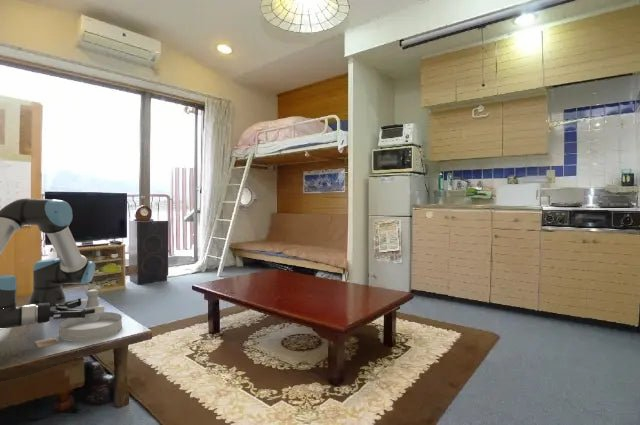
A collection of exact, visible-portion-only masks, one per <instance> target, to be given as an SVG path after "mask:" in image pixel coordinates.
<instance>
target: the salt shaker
mask: <svg viewBox="0 0 640 425" xmlns="http://www.w3.org/2000/svg"><path fill="white" fill-rule="evenodd" d="M98 295H99V290H98V289H93V288H92V289H89V290H87V291H86V297H87V299H88V300H87V304H86V306H85V308H90V307H97V306H100V303H99V304H98V299H97V298H98ZM99 317H100V313H97V314H90V315H85V320H86V322H95V321H97V320H98V319H99Z"/></svg>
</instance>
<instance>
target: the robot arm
mask: <svg viewBox="0 0 640 425" xmlns="http://www.w3.org/2000/svg"><path fill="white" fill-rule="evenodd" d="M73 215H74V214H73V209H72V207H71V205H70V204H69V202H67V201H65V200H61V199H56V198H55V199H54V198H52V199H49V198H46V199H45V198H27V197H26V198H21V199H16V200H14V201H12V202H10V203H8V204H7V205H5V206H4V207H3V208H1V209H0V256H1V255H2V253H3V251H4V250H5V248H6V247H7V245H8V243H9V242H10V240H11V238H12V237H13V235H14V234H15V233H16V232H19V231H20V230H21V228H22V227H23V226H37V228H38V229H39V231H40V232H41V233H44V234H45V235H46V236H47V238H48V239H49V241H50V243H51V245H52V247H53V249H54V251H55V252H56V254H57V256H58V257H57V258H47V259H42V260H38V261H36V262H35V263H34V264H33V269H32V272H33V273H32V274H33V278H32V279H33V280H32V282H33V283H32V284H33V285H32V287H33V288H32V291H31V292H32V293H31V295H30V297H29V300H28V302H27V303H28V304H25V305H18V306H17V293H18V292H17V290H18V286H17V283H18V282H17V278H16V276H15V275H13V274H3V275H2V274H0V328H6V329H10V328H17V327H22V326H23V327H28V326H29V325H36V323H37V324H43V323H49V322H50V321H51V320H50V319H51V317H52V318H53V320H59V319H69V318H85V315H90V314H97V313H104V312H105V305H100V297H97V299H98V304H99V306H97V307H90V308H86V304H87V300H88V298H87V299H82V298H81V297H78V298H76V299H72V300H68V301H66V294H65V292H64V289H63V285H64V284H65V285H66V284H67V285H68V284H69V285H70V284H71V285H72V284H75V285H83V284H89V283H90V282H92V280H93V278H94V276H95V272H96V271H95V270H96V263H95V262H94V261H91V260H88V259H87V257H86V256H85V255H83V254H81V252H80V249H79V248H78V245H77V243H76V241H75V239H74V237H73V234H72V231H71V230H70V228H69V226H70V224H71V223H72V221H73ZM78 307H82V308H78ZM83 307H85V308H83ZM3 308H4V309H3Z"/></svg>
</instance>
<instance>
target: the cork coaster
mask: <svg viewBox="0 0 640 425" xmlns="http://www.w3.org/2000/svg"><path fill="white" fill-rule="evenodd" d="M56 344H59V341H58V340H57V338H55V337H49V338H45V339H42V340H37V341H34V345H36V347H37V348H38V349H39V348H42V347H49V346H52V345H56Z"/></svg>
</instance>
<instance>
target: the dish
mask: <svg viewBox="0 0 640 425" xmlns="http://www.w3.org/2000/svg"><path fill="white" fill-rule="evenodd" d="M122 318H123V316H122V315H121V314H120V313H118V312H113V311H110V312H109V311H104V313H100V317H99V319H98V320H97V321H95V322H86V320H85V318H65V320H63V321H61V322H60V324H59V333H58V335H59V338H60V339H61V340H65V341H70V342H84V341H85V342H86V341H92V340H97V339H103V338H105V337H109V336H111V335H114V334H116V333H117V332H120V331H121V330H122V327H123V319H122ZM102 337H103V338H102Z"/></svg>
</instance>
